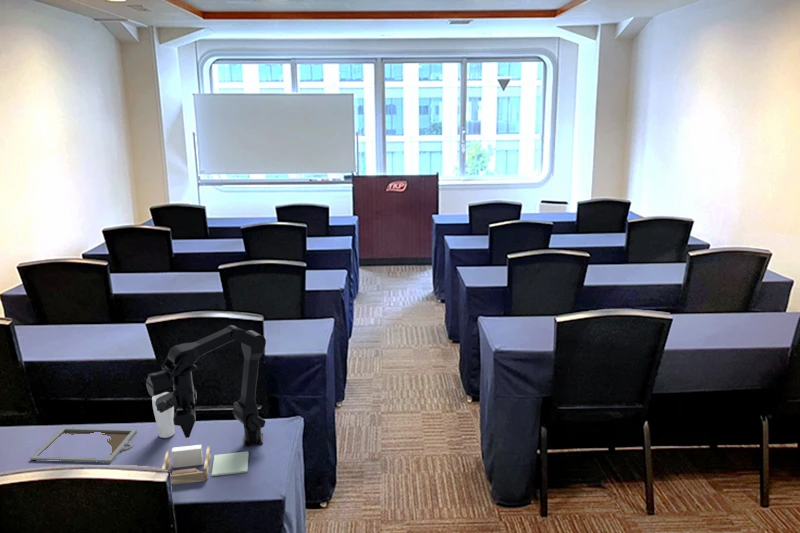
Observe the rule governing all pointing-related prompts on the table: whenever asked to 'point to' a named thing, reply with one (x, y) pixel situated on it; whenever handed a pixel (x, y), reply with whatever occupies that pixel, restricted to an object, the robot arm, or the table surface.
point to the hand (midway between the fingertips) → (188, 429)
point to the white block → (187, 456)
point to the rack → (189, 476)
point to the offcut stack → (185, 471)
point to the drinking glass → (164, 419)
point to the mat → (230, 463)
